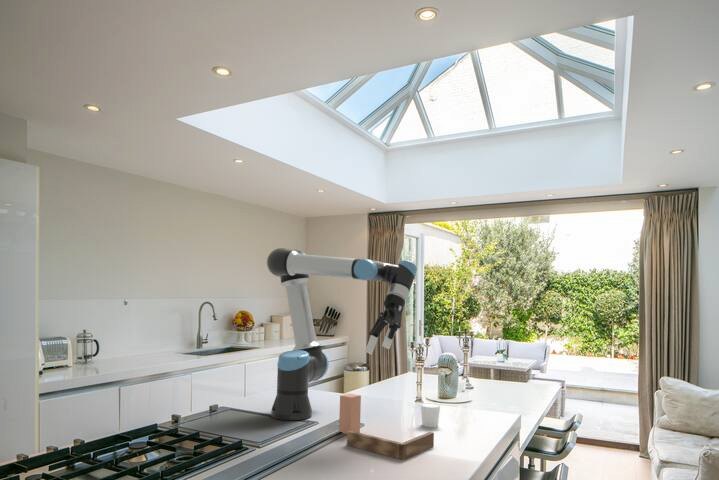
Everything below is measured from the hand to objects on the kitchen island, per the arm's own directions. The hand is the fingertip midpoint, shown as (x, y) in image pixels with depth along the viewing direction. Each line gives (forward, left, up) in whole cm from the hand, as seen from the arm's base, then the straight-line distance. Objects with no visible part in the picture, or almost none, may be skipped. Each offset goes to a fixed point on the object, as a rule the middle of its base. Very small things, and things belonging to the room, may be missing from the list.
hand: (376, 350), depth 180 cm
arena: (+11, -17, -27) cm, 33 cm away
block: (-6, -8, -27) cm, 29 cm away
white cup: (+16, +14, -27) cm, 34 cm away
